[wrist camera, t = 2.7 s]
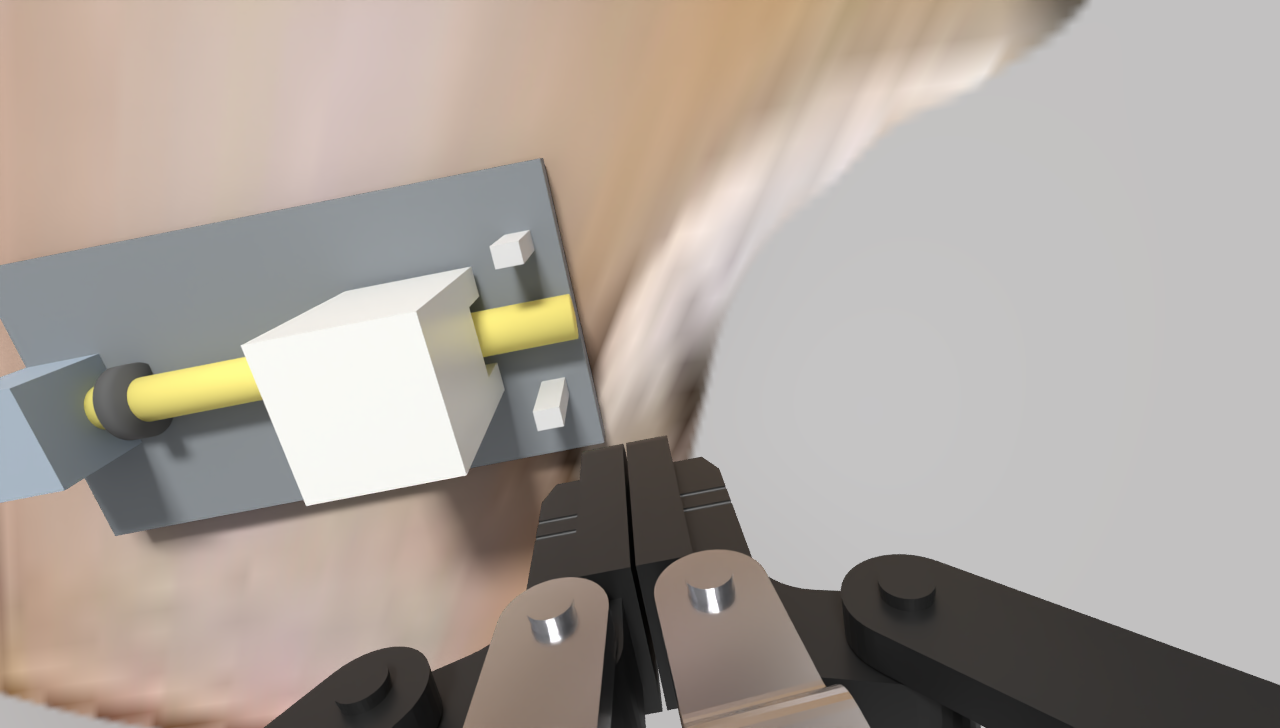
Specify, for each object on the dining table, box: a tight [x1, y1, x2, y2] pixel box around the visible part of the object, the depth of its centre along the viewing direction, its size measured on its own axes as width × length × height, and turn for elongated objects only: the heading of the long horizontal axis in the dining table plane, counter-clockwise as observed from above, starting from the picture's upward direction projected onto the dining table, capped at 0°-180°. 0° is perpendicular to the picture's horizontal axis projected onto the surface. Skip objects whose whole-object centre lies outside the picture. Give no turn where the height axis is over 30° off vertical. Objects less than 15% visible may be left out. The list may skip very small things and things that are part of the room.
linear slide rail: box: [0, 158, 604, 536], centre depth 25 cm, size 22×12×5 cm, turn 101°
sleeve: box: [241, 267, 505, 506], centre depth 22 cm, size 5×5×7 cm
